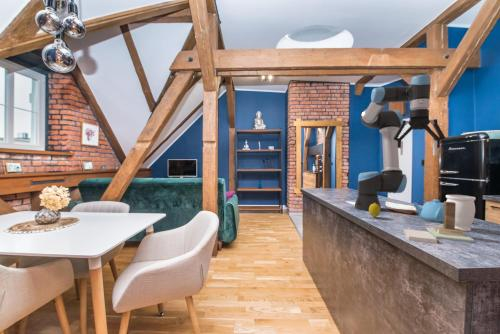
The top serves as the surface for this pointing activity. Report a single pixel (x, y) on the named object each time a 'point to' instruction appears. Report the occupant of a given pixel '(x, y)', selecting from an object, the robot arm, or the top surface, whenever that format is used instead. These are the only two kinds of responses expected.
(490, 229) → the top surface
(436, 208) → the teapot
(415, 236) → the tile
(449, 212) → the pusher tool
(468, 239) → the tool mat
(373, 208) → the lemon
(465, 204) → the jar
